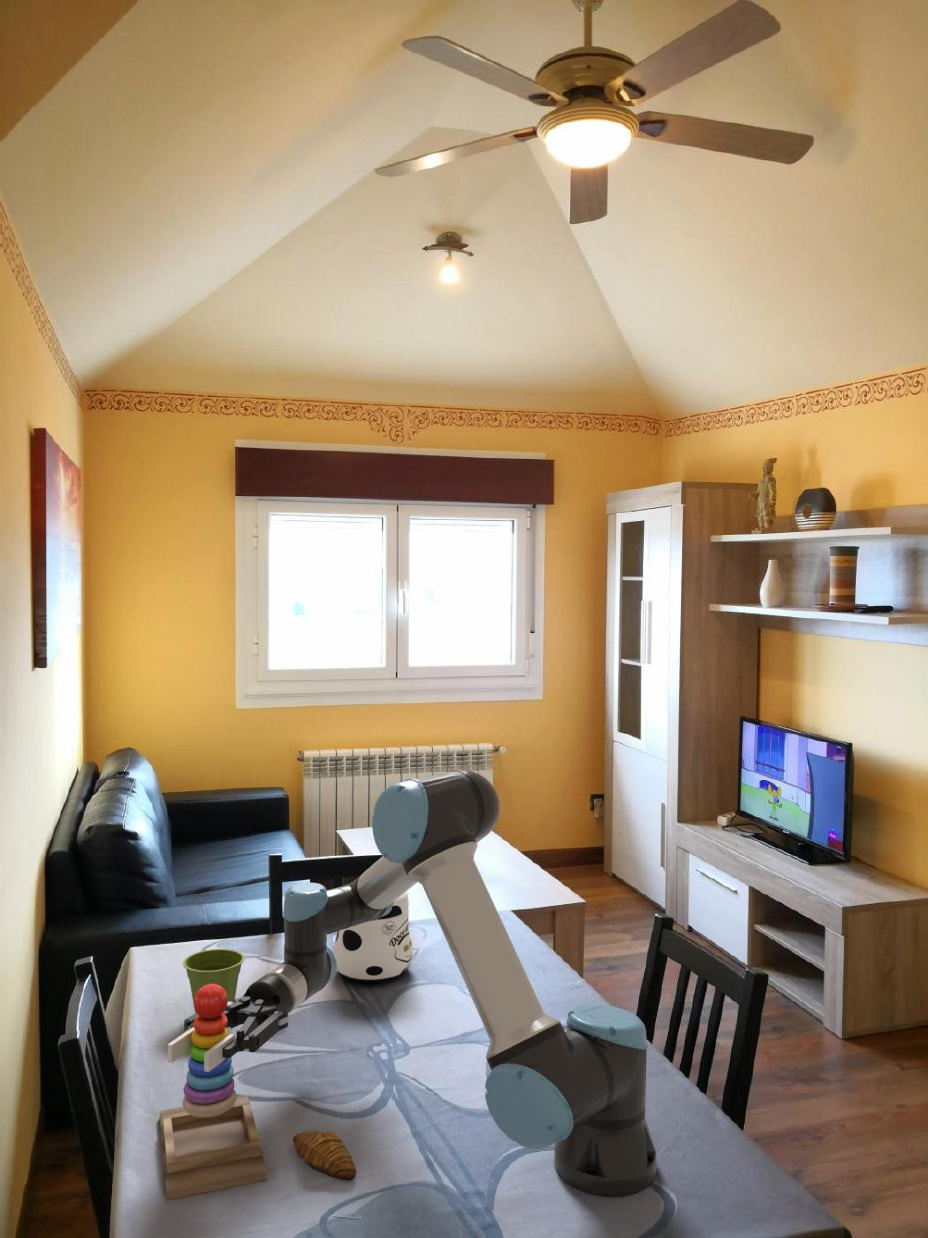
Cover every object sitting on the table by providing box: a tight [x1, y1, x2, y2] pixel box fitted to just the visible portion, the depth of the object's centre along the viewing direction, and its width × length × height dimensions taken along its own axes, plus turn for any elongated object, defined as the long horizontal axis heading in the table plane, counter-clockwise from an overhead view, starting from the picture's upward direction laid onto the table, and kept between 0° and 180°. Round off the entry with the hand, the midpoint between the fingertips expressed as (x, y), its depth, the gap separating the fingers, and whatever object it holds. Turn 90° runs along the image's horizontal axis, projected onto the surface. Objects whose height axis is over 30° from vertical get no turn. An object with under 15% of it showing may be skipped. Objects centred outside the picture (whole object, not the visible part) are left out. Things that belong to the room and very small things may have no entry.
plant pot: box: [182, 948, 245, 1014], centre depth 196 cm, size 12×12×11 cm
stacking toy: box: [182, 984, 237, 1118], centre depth 151 cm, size 8×8×19 cm
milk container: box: [332, 890, 414, 983], centre depth 217 cm, size 17×17×18 cm
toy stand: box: [159, 1095, 269, 1201], centre depth 152 cm, size 22×14×3 cm, turn 20°
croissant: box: [292, 1130, 357, 1182], centre depth 148 cm, size 14×7×5 cm, turn 47°
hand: (187, 1058), depth 146 cm, fingers closed on stacking toy, 6 cm apart
